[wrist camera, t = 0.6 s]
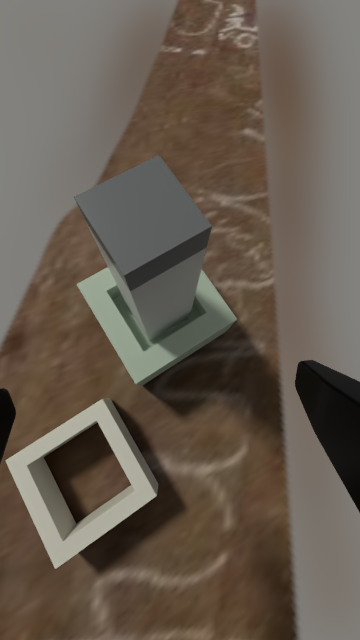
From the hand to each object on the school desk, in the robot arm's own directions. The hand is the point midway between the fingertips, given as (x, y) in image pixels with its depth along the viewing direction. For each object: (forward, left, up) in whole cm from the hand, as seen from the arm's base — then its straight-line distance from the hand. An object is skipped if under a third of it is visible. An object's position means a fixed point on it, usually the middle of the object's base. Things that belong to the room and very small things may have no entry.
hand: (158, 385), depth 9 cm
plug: (+5, -3, -12) cm, 13 cm away
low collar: (-2, +7, -14) cm, 16 cm away
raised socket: (+5, -3, -14) cm, 15 cm away
